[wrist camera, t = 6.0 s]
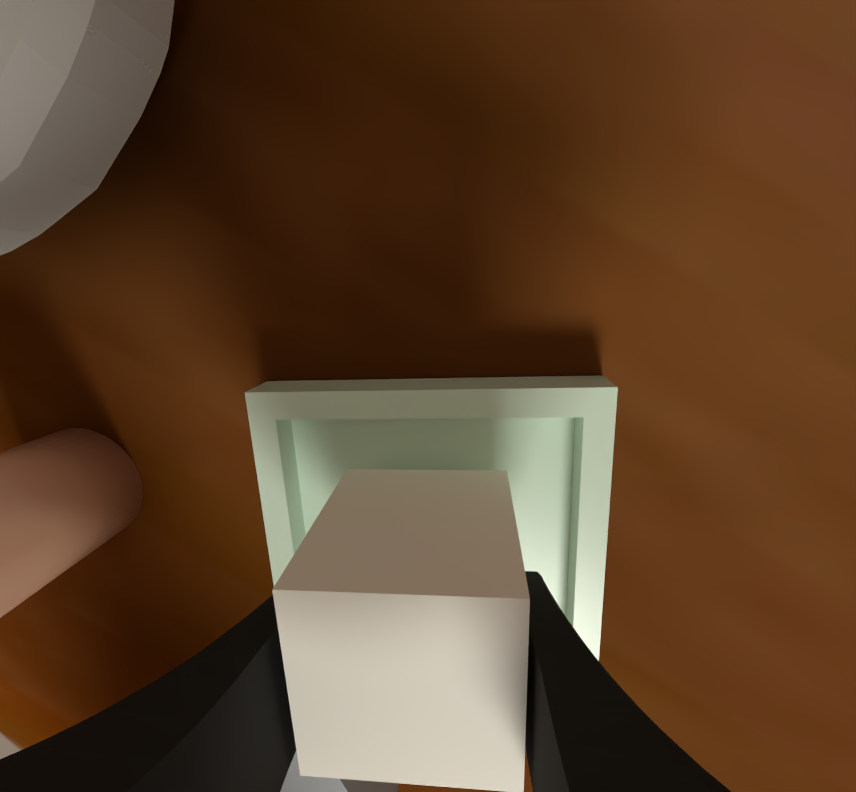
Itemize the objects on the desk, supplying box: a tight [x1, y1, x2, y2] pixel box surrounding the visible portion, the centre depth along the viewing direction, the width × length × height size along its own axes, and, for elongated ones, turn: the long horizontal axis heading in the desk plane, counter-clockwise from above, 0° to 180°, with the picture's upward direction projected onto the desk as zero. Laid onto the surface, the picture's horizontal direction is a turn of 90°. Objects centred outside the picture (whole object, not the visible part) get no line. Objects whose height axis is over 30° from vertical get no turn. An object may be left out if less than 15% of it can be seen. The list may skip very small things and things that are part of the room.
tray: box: [245, 375, 618, 661], centre depth 14 cm, size 10×10×1 cm
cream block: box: [272, 469, 530, 792], centre depth 11 cm, size 4×4×5 cm
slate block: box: [280, 751, 399, 792], centre depth 16 cm, size 5×3×3 cm, turn 26°
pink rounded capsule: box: [0, 428, 143, 618], centre depth 13 cm, size 4×4×5 cm
